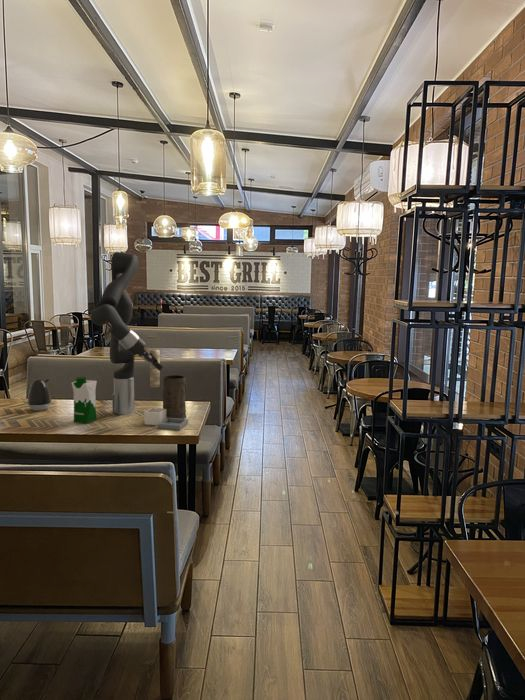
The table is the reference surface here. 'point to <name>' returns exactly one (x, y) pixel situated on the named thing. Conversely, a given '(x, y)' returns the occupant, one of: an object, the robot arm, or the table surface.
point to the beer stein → (174, 396)
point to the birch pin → (155, 370)
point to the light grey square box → (154, 416)
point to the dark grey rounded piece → (39, 395)
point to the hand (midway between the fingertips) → (159, 367)
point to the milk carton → (84, 400)
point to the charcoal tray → (173, 424)
